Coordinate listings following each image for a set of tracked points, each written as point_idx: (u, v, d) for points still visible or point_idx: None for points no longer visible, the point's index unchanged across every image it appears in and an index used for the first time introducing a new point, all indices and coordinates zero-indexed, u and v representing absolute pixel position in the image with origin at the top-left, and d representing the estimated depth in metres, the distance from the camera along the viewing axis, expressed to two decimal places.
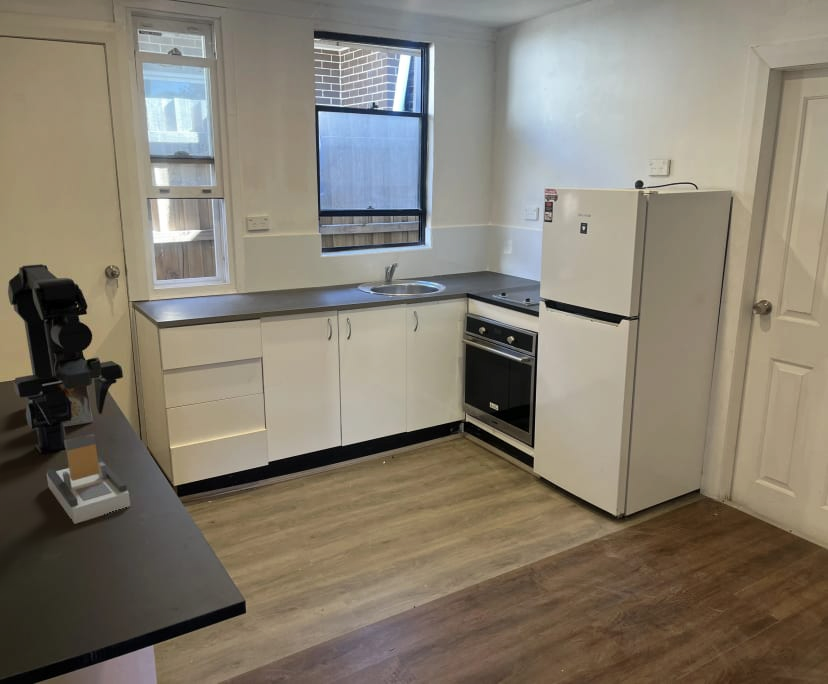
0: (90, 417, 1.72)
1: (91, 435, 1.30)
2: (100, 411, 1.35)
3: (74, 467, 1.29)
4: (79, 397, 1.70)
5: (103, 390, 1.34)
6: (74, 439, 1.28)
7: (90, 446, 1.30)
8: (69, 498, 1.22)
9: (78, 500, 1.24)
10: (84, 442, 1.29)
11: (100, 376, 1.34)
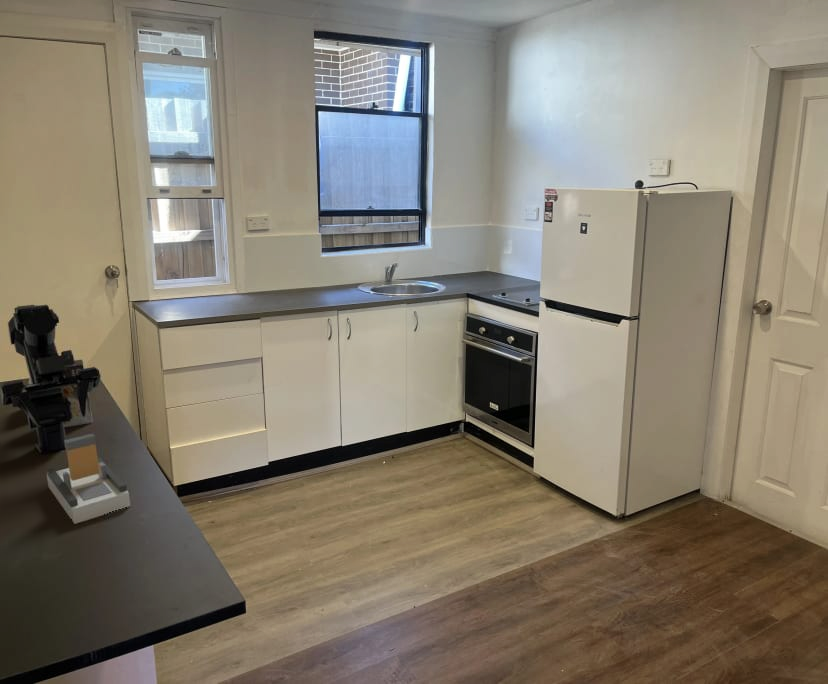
0: (90, 418, 1.72)
1: (91, 435, 1.30)
2: (83, 412, 1.42)
3: (74, 467, 1.29)
4: None
5: (83, 391, 1.43)
6: (74, 439, 1.28)
7: (90, 446, 1.30)
8: (69, 498, 1.22)
9: (78, 500, 1.24)
10: (84, 442, 1.29)
11: (78, 380, 1.45)
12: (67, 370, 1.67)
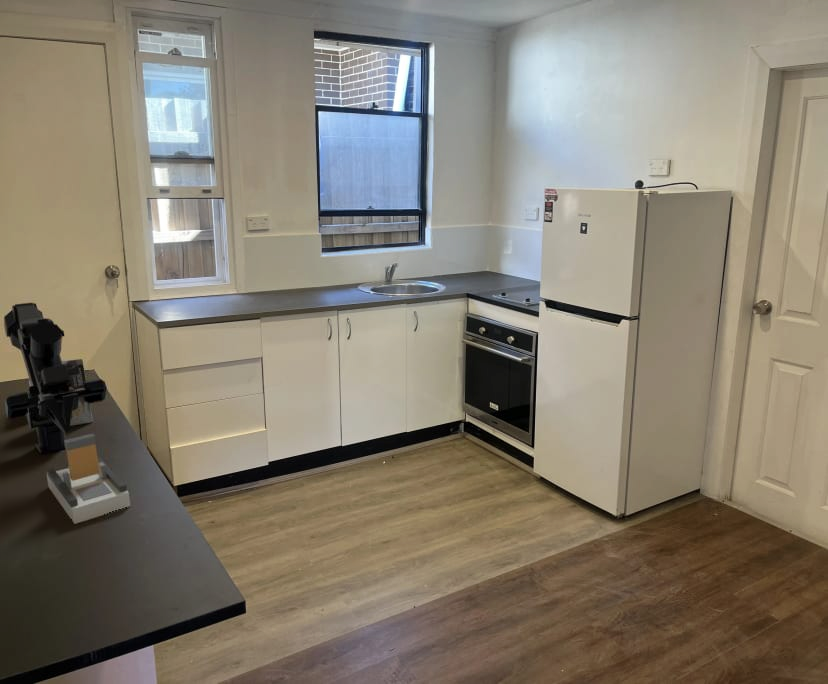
0: (90, 417, 1.72)
1: (91, 435, 1.30)
2: (68, 428, 1.36)
3: (74, 467, 1.29)
4: None
5: (67, 407, 1.38)
6: (74, 439, 1.28)
7: (90, 446, 1.30)
8: (69, 498, 1.22)
9: (78, 500, 1.24)
10: (84, 442, 1.29)
11: (63, 396, 1.39)
12: None
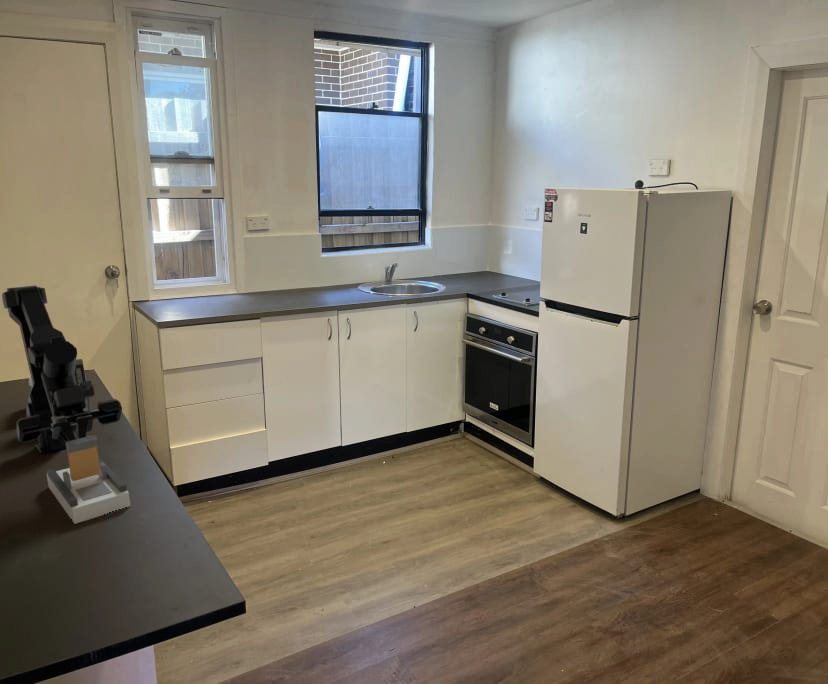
0: None
1: (93, 437, 1.30)
2: None
3: (74, 468, 1.28)
4: None
5: (81, 429, 1.32)
6: (76, 441, 1.28)
7: (91, 448, 1.29)
8: (69, 498, 1.22)
9: (78, 500, 1.24)
10: (86, 444, 1.28)
11: (77, 418, 1.33)
12: None
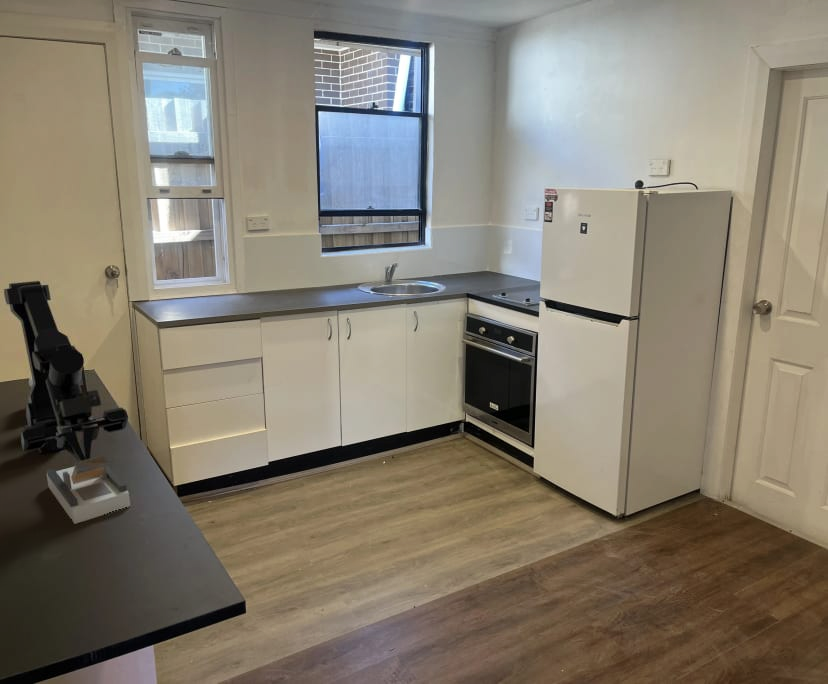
0: (90, 417, 1.72)
1: (103, 460, 1.26)
2: None
3: (78, 478, 1.27)
4: None
5: (87, 439, 1.29)
6: (86, 464, 1.24)
7: (99, 467, 1.27)
8: (69, 498, 1.22)
9: (78, 500, 1.24)
10: (95, 467, 1.26)
11: (82, 427, 1.31)
12: None
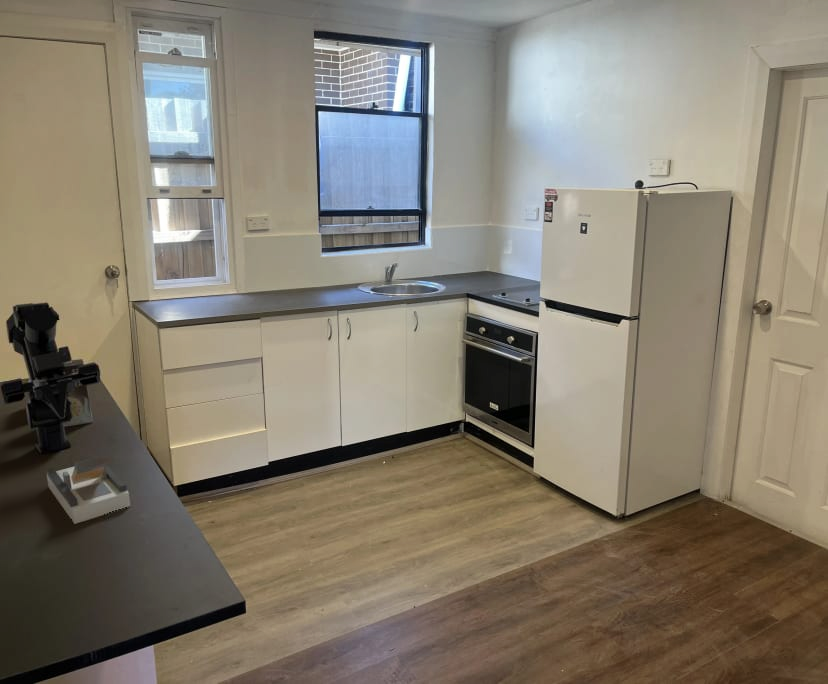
0: (90, 417, 1.72)
1: (103, 460, 1.26)
2: (62, 413, 1.39)
3: (78, 478, 1.27)
4: (79, 397, 1.70)
5: (61, 392, 1.40)
6: (86, 464, 1.24)
7: (99, 468, 1.27)
8: (69, 498, 1.22)
9: (78, 500, 1.24)
10: (95, 467, 1.26)
11: (58, 381, 1.42)
12: (67, 369, 1.67)
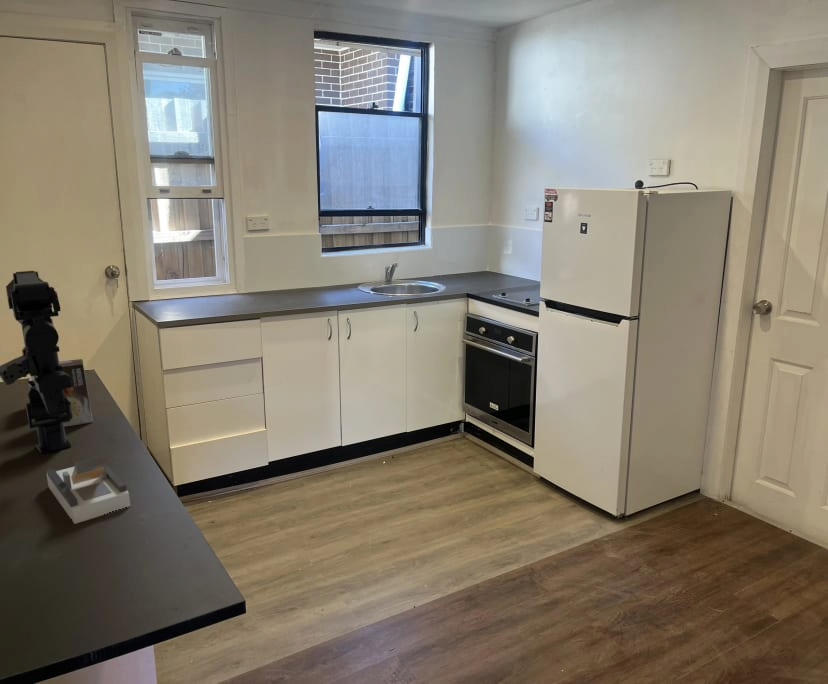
0: (90, 417, 1.72)
1: (103, 460, 1.26)
2: (48, 411, 1.41)
3: (78, 478, 1.27)
4: (79, 397, 1.70)
5: (41, 393, 1.39)
6: (86, 464, 1.24)
7: (99, 468, 1.27)
8: (69, 498, 1.22)
9: (78, 500, 1.24)
10: (95, 467, 1.26)
11: None
12: (67, 369, 1.67)
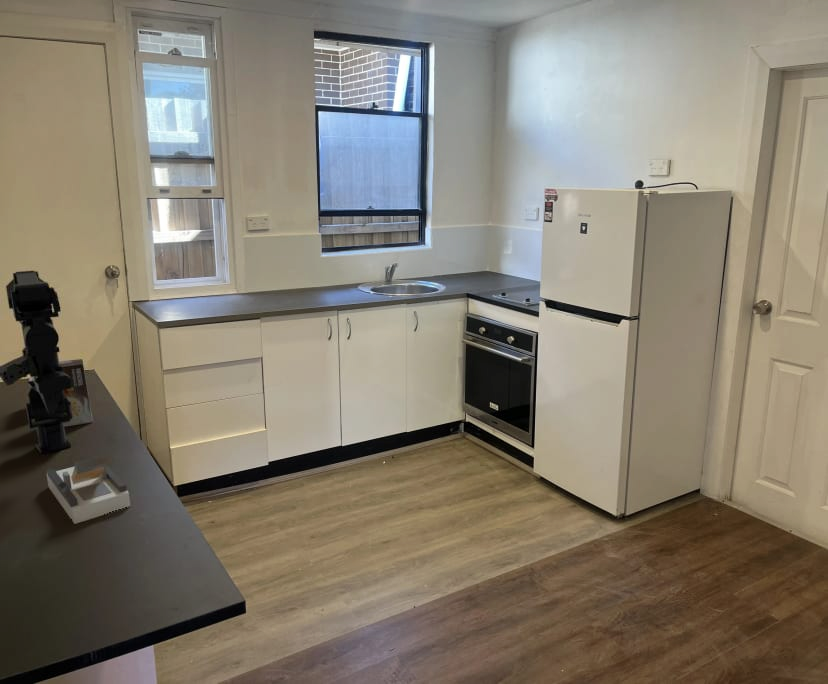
0: (90, 417, 1.72)
1: (103, 460, 1.26)
2: (48, 411, 1.41)
3: (78, 478, 1.27)
4: (79, 397, 1.70)
5: (41, 393, 1.39)
6: (86, 464, 1.24)
7: (99, 468, 1.27)
8: (69, 498, 1.22)
9: (78, 500, 1.24)
10: (95, 467, 1.26)
11: None
12: (67, 369, 1.67)
